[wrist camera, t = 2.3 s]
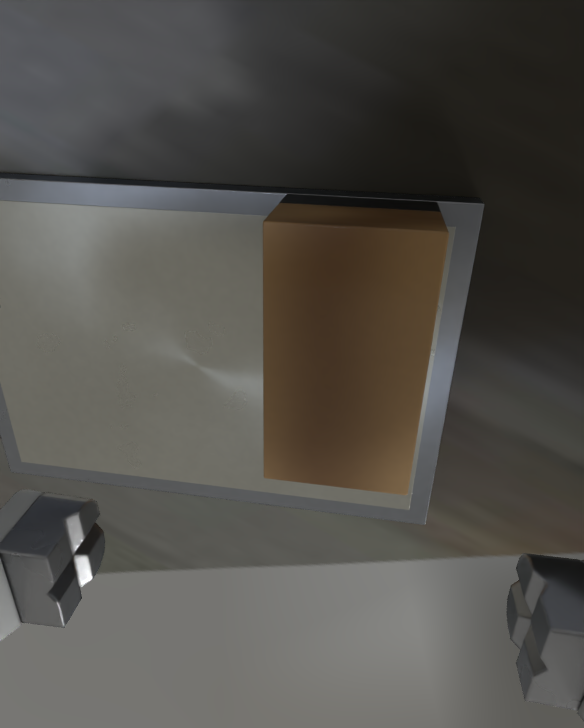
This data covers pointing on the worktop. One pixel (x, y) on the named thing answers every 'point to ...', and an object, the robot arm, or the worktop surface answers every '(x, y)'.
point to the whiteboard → (173, 339)
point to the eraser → (348, 337)
